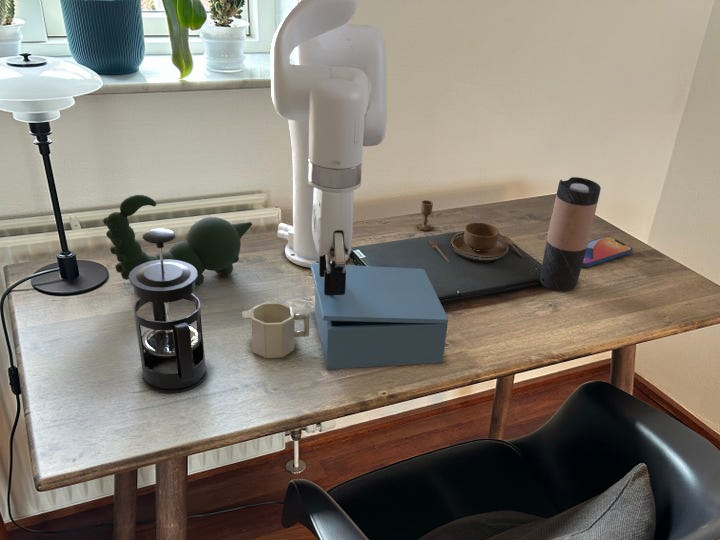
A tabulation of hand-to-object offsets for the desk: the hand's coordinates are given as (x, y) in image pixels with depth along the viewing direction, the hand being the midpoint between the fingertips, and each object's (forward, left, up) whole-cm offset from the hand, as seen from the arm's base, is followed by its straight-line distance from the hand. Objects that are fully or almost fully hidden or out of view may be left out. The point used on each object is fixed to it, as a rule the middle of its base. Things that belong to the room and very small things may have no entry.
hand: (331, 283), depth 115 cm
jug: (-7, -6, -10) cm, 14 cm away
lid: (+6, +4, -2) cm, 8 cm away
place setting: (+7, +48, -11) cm, 49 cm away
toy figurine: (-31, +4, -11) cm, 33 cm away
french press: (-15, -20, -11) cm, 27 cm away
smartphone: (+32, +58, -10) cm, 67 cm away
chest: (+6, +5, -10) cm, 13 cm away
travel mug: (+28, +41, -11) cm, 50 cm away
